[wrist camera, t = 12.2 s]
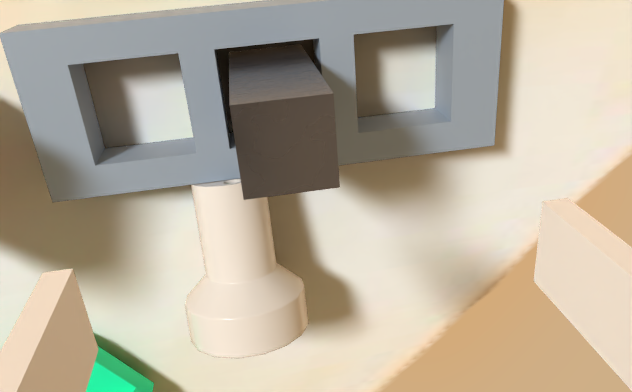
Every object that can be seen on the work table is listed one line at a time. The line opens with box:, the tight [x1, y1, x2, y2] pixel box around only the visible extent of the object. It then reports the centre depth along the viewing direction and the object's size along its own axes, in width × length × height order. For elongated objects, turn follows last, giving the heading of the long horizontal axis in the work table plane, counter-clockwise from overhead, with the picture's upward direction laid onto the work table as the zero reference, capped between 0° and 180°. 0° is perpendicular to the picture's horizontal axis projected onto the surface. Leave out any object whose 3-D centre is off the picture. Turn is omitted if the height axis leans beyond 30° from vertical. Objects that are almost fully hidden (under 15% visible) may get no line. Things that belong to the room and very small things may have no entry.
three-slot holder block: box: [0, 0, 504, 202], centre depth 34 cm, size 28×10×3 cm, turn 94°
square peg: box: [229, 44, 340, 200], centre depth 30 cm, size 4×4×12 cm
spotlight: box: [185, 178, 309, 358], centre depth 37 cm, size 8×11×8 cm
